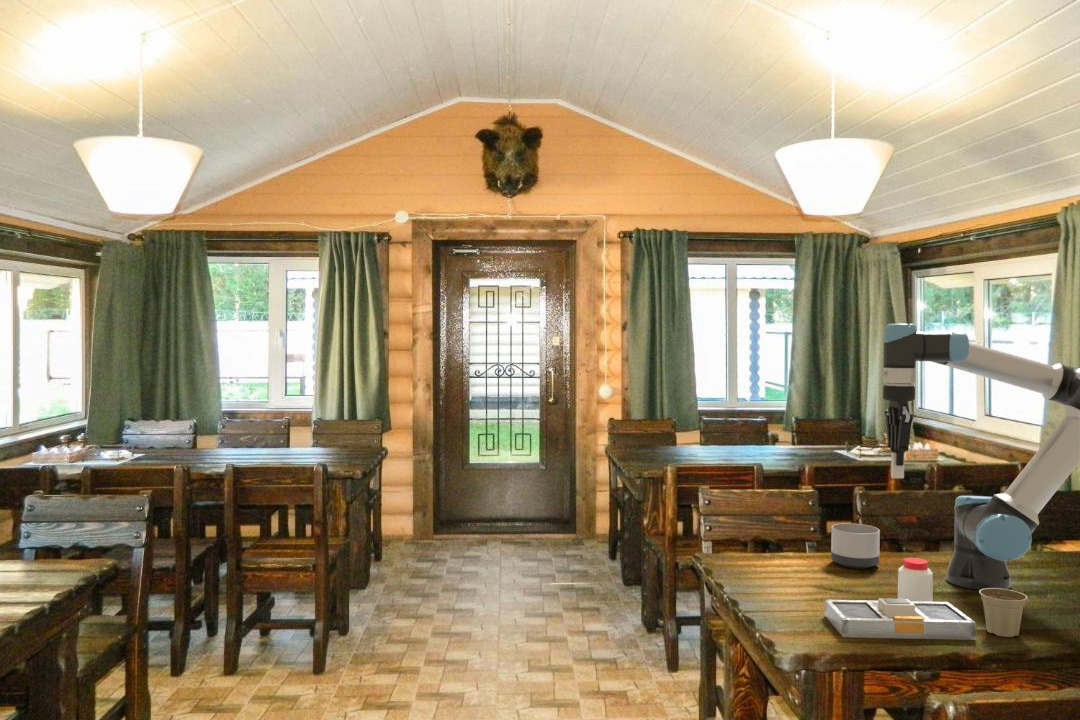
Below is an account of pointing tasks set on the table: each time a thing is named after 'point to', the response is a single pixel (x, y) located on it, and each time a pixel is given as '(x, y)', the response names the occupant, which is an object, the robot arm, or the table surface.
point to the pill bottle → (915, 580)
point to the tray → (899, 621)
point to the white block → (896, 607)
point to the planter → (855, 545)
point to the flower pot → (1003, 610)
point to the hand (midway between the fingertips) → (897, 477)
